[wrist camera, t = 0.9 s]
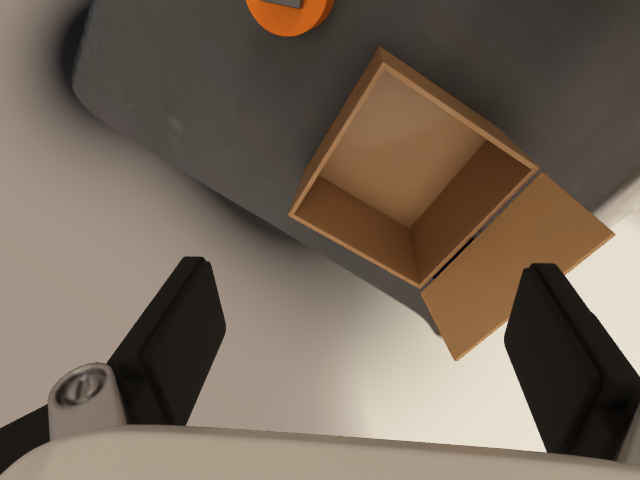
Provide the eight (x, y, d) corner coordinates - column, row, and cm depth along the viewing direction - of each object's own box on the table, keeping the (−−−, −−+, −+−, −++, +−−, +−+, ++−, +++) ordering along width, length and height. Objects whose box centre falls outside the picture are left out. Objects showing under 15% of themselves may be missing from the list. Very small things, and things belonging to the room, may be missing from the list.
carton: (379, 45, 34) (383, 61, 25) (499, 128, 36) (540, 168, 28) (304, 169, 41) (287, 215, 32) (409, 231, 43) (420, 289, 35)
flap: (613, 233, 22) (616, 234, 22) (542, 171, 27) (544, 173, 27) (454, 360, 29) (457, 361, 29) (420, 293, 34) (423, 294, 34)
